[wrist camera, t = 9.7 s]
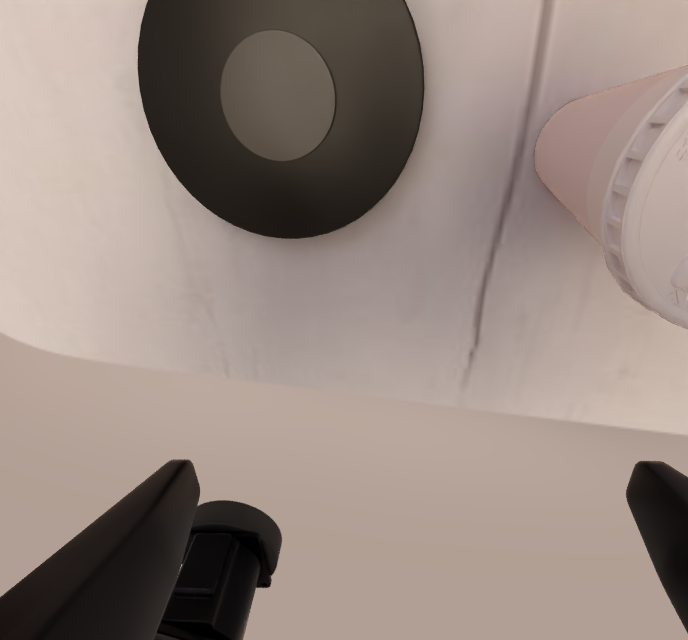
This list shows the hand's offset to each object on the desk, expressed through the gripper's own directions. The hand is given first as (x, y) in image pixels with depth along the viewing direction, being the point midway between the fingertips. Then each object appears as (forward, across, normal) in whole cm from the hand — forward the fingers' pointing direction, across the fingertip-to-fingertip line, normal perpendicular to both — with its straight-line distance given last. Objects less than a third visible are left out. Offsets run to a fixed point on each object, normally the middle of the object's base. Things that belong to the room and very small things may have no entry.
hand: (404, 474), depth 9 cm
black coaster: (+12, +4, -7) cm, 15 cm away
